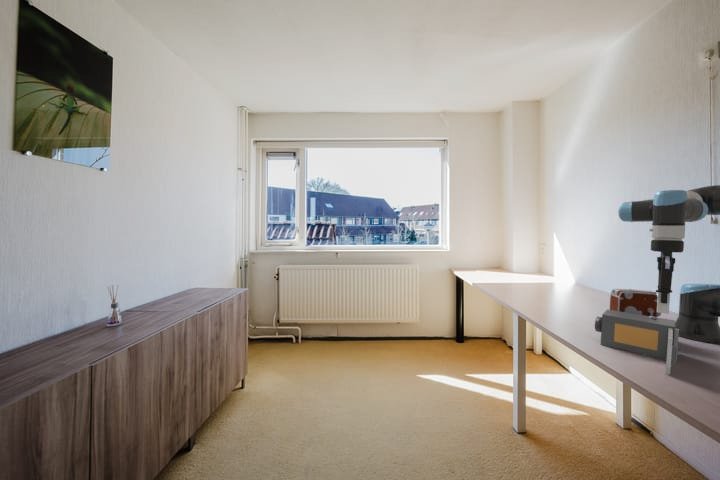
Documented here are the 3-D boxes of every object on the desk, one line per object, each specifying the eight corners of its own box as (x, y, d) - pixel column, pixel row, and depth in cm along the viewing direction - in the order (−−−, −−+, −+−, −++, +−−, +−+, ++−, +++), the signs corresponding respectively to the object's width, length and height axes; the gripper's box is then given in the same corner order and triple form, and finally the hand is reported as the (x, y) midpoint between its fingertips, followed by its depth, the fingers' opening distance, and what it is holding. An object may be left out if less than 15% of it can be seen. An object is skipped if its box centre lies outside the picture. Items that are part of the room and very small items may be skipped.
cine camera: (673, 342, 128) (676, 293, 127) (618, 338, 132) (621, 290, 131) (656, 335, 137) (659, 289, 136) (605, 331, 141) (608, 286, 140)
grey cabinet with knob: (597, 336, 133) (599, 306, 133) (676, 353, 117) (679, 318, 116) (591, 343, 124) (593, 311, 124) (676, 362, 108) (679, 325, 107)
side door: (665, 373, 98) (668, 338, 98) (666, 359, 109) (668, 327, 109) (674, 375, 97) (677, 340, 96) (674, 360, 108) (676, 329, 107)
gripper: (650, 238, 108) (646, 306, 109) (652, 239, 98) (647, 314, 99) (681, 239, 103) (676, 310, 104) (687, 240, 93) (681, 319, 94)
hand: (662, 312), depth 101 cm, fingers closed
